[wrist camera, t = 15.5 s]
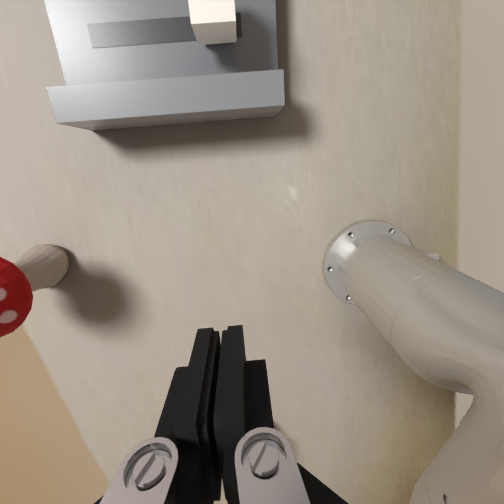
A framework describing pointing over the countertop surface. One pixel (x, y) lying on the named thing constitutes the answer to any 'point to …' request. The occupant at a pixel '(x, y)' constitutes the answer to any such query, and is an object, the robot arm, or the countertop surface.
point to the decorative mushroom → (28, 282)
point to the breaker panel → (161, 65)
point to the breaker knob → (213, 21)
